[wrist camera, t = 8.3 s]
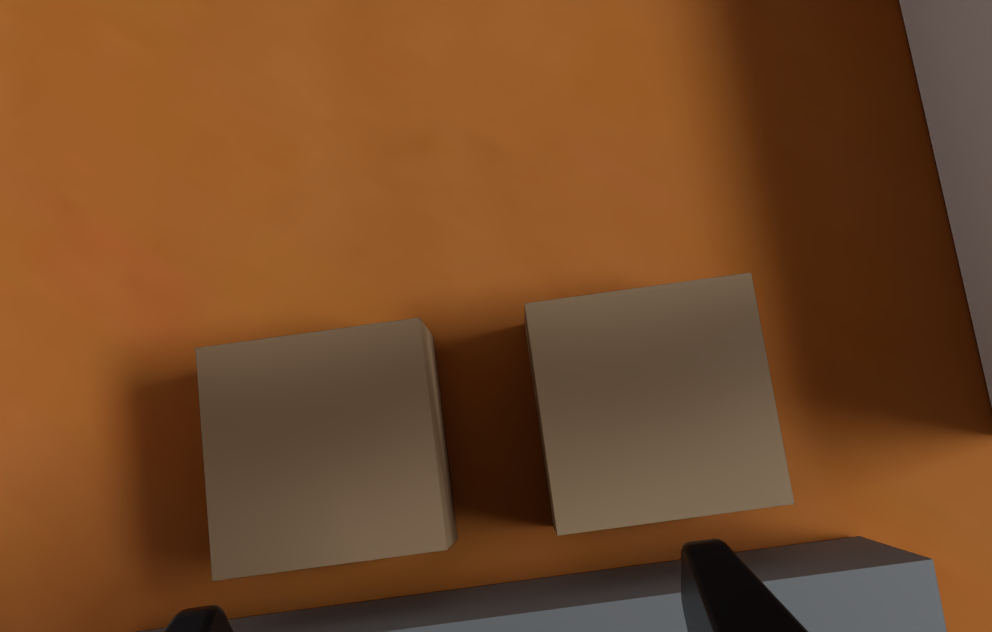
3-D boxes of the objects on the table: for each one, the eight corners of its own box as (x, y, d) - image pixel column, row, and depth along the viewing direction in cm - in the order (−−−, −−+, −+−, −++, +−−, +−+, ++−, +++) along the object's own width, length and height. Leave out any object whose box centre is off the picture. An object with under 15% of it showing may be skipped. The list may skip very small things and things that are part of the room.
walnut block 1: (458, 537, 17) (447, 550, 15) (257, 564, 17) (212, 580, 15) (434, 337, 18) (419, 317, 15) (241, 364, 18) (195, 347, 15)
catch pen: (1038, 430, 17) (1195, 420, 13) (-62, 576, 17) (-238, 610, 13) (882, -238, 19) (972, -417, 15) (-78, -101, 20) (-229, -244, 16)
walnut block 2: (755, 498, 17) (794, 504, 15) (552, 525, 17) (557, 535, 15) (719, 299, 18) (751, 272, 15) (524, 325, 18) (524, 303, 15)
